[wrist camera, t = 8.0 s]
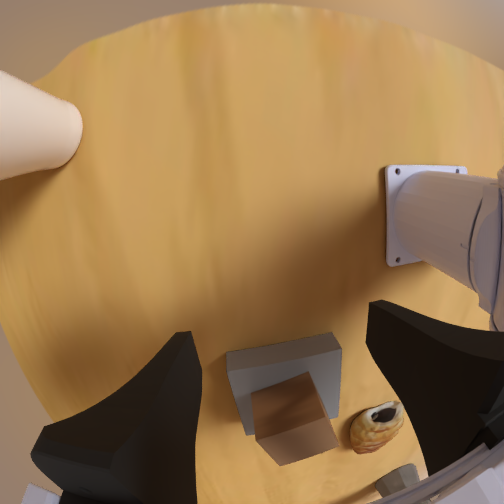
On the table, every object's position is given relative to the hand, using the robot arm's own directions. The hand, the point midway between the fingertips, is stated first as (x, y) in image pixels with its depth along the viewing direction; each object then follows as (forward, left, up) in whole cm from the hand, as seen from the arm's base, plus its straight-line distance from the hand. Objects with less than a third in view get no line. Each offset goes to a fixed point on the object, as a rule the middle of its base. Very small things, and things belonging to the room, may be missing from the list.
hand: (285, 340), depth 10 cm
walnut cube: (-1, +12, -7) cm, 14 cm away
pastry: (-12, +23, -10) cm, 28 cm away
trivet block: (-1, +12, -10) cm, 16 cm away
